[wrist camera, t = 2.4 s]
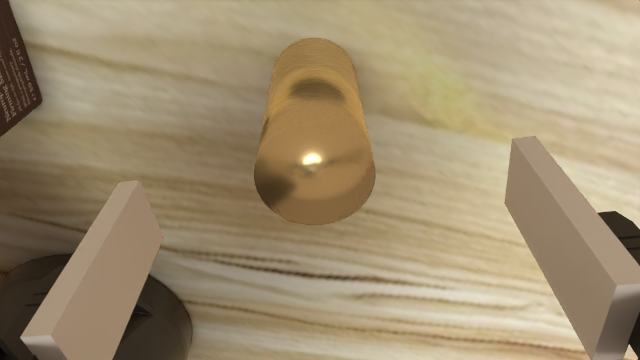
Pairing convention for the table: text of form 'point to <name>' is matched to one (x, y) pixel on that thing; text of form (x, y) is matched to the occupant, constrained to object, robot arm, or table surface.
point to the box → (14, 74)
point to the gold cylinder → (314, 137)
